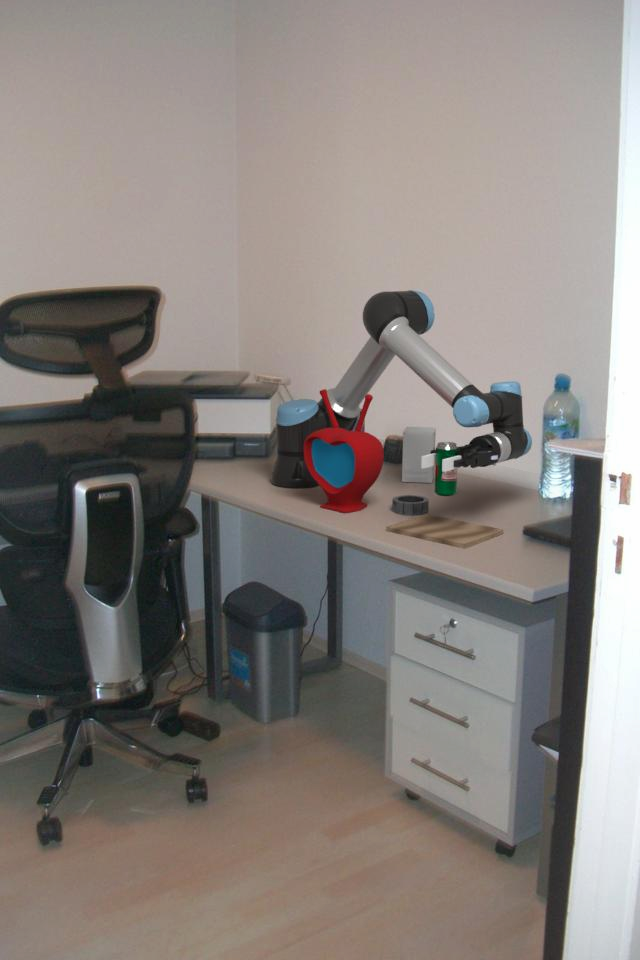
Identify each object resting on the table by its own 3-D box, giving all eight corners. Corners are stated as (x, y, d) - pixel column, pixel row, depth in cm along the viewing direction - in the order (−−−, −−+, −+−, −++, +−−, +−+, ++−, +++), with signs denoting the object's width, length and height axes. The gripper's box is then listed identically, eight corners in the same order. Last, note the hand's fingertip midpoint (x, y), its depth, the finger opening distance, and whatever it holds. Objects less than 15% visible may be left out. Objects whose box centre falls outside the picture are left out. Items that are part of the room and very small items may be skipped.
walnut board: (386, 530, 224) (386, 526, 224) (425, 517, 235) (426, 513, 235) (465, 548, 209) (465, 544, 209) (503, 533, 221) (503, 529, 221)
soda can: (442, 497, 217) (444, 446, 214) (430, 493, 221) (431, 442, 219) (461, 495, 219) (462, 444, 217) (448, 491, 224) (449, 440, 221)
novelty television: (299, 504, 249) (298, 390, 242) (333, 496, 258) (333, 385, 251) (358, 518, 234) (359, 397, 228) (392, 509, 243) (393, 392, 237)
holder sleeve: (385, 511, 242) (385, 499, 241) (406, 504, 248) (406, 493, 248) (414, 517, 236) (414, 505, 235) (435, 510, 242) (435, 498, 242)
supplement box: (432, 483, 272) (433, 432, 269) (401, 482, 274) (402, 431, 271) (435, 477, 281) (436, 427, 278) (405, 475, 283) (405, 426, 280)
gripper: (520, 469, 227) (466, 485, 210) (457, 460, 238) (400, 474, 221) (521, 438, 225) (467, 452, 208) (457, 430, 237) (401, 443, 220)
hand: (433, 463), depth 215 cm, fingers closed on soda can, 5 cm apart
